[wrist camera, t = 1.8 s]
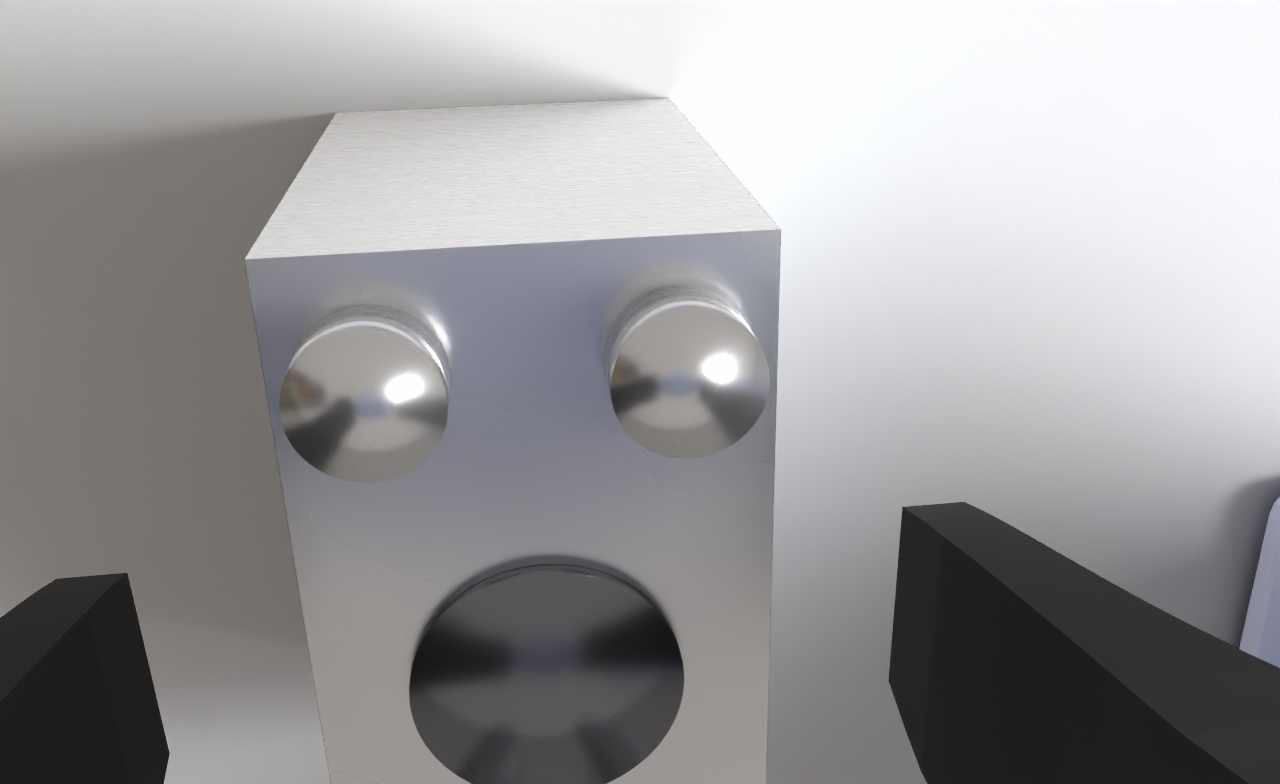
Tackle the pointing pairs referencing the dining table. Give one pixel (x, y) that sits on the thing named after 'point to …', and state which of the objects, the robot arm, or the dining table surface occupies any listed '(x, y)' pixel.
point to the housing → (527, 443)
